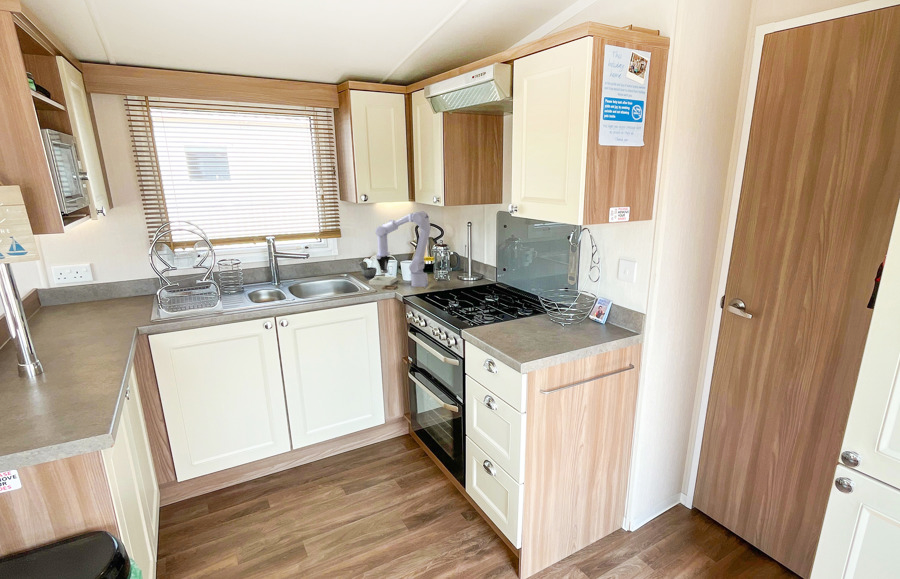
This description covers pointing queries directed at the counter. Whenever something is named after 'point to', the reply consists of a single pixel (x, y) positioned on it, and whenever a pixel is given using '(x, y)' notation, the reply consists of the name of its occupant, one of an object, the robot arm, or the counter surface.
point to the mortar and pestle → (368, 271)
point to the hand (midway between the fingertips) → (383, 269)
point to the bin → (375, 281)
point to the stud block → (390, 287)
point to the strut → (385, 269)
